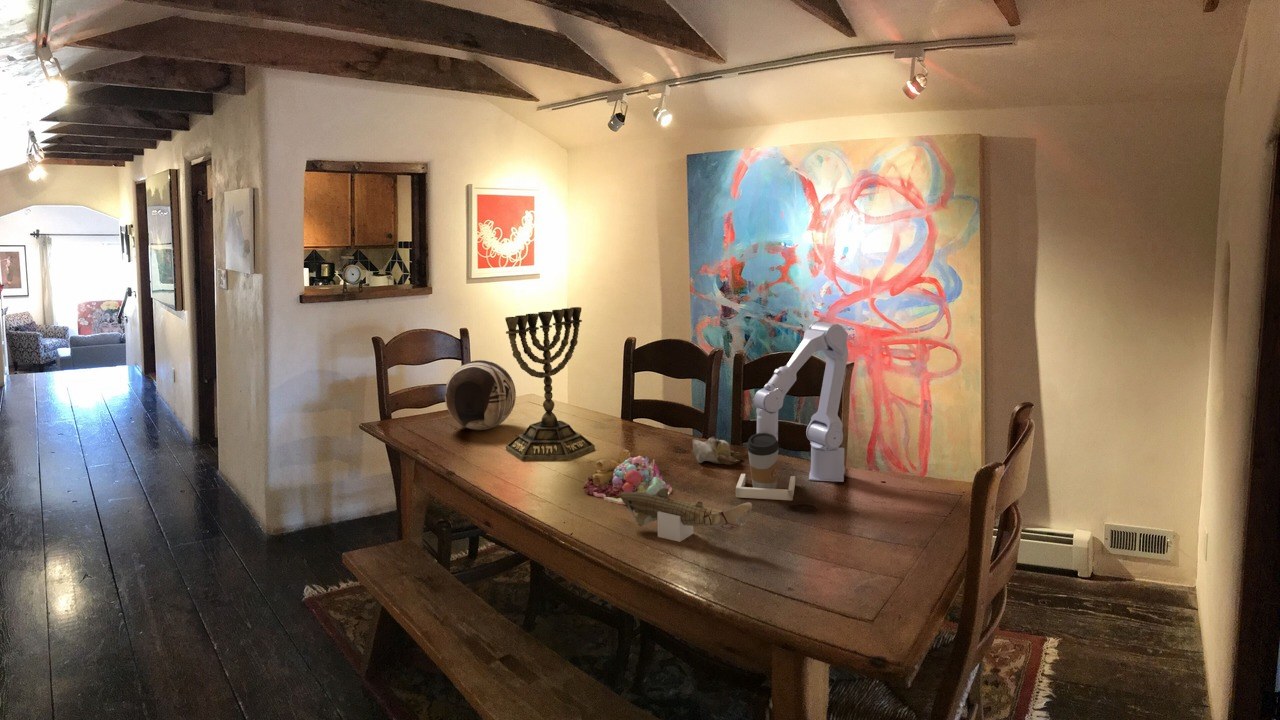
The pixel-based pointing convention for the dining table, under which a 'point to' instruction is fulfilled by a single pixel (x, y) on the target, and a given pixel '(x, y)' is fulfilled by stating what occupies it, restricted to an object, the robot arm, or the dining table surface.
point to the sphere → (480, 395)
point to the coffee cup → (763, 460)
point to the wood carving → (681, 514)
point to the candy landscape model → (624, 478)
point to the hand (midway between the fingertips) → (766, 481)
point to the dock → (764, 491)
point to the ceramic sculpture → (714, 451)
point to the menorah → (547, 388)
